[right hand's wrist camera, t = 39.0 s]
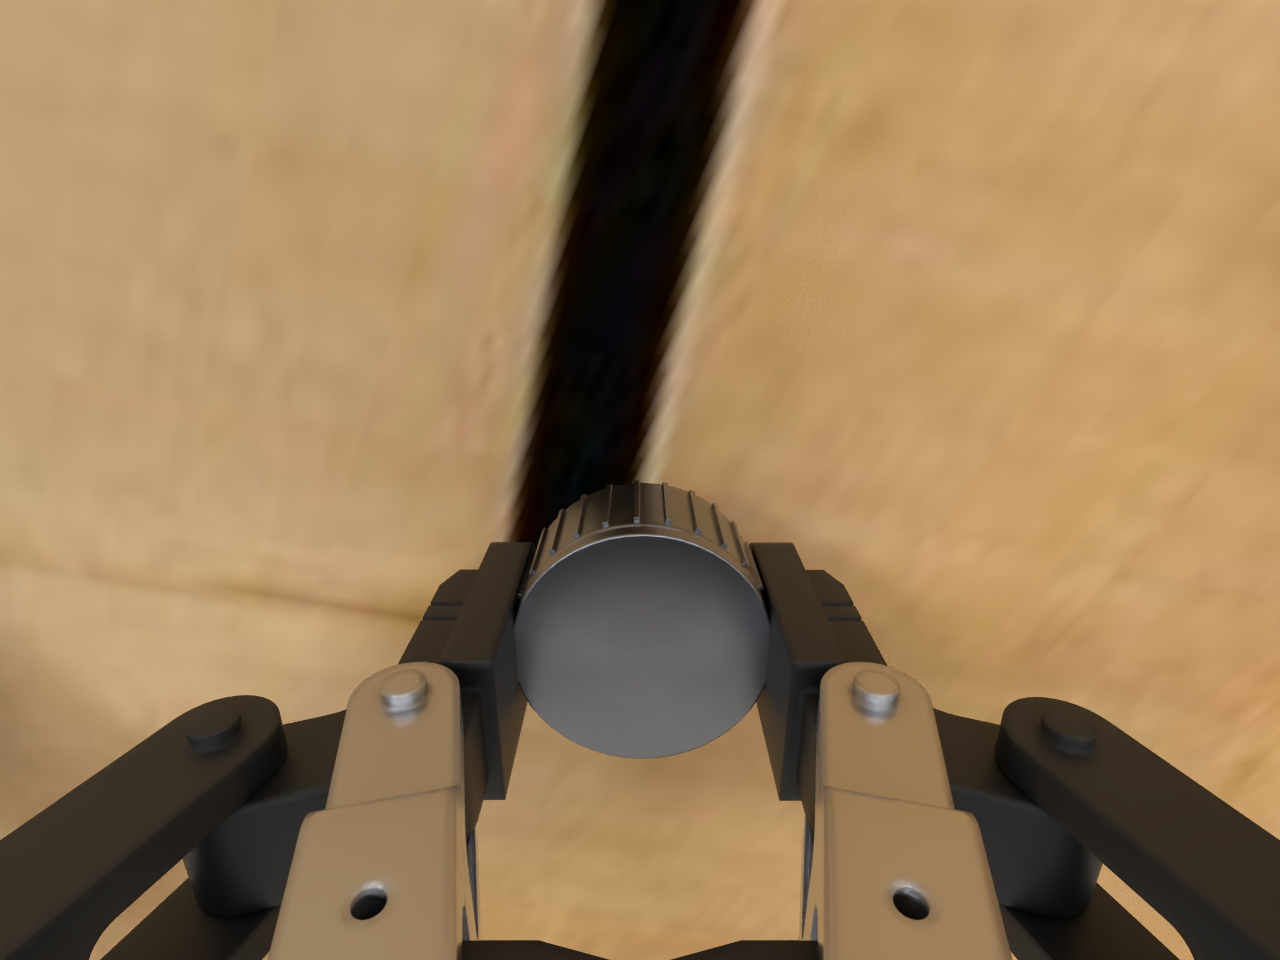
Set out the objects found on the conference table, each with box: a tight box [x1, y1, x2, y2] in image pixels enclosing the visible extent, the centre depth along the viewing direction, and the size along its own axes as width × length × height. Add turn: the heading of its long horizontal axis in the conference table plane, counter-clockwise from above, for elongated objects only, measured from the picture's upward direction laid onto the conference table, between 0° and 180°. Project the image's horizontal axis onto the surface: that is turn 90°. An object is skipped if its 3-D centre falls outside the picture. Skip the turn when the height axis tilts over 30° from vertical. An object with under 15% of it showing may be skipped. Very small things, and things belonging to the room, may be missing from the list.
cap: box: [514, 481, 770, 758], centre depth 11 cm, size 4×4×2 cm
